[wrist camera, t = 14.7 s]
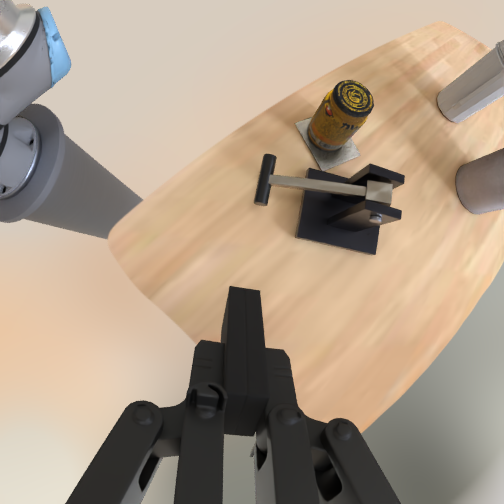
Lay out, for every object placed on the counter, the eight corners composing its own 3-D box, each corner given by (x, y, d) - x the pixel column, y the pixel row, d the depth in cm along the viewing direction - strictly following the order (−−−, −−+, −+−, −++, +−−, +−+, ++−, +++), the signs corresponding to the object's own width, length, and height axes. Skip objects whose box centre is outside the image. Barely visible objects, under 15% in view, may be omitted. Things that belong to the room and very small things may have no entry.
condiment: (333, 110, 44) (361, 69, 32) (360, 155, 44) (397, 124, 32) (294, 123, 43) (314, 81, 31) (321, 172, 43) (352, 141, 31)
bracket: (294, 237, 43) (325, 224, 29) (306, 170, 43) (339, 131, 29) (371, 255, 43) (425, 250, 30) (380, 191, 44) (431, 165, 30)
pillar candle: (475, 159, 46) (527, 136, 31) (493, 205, 46) (548, 192, 31) (447, 172, 45) (504, 147, 30) (467, 222, 45) (527, 210, 30)
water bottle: (443, 86, 47) (517, 25, 22) (467, 116, 47) (548, 66, 22) (423, 103, 46) (507, 35, 21) (450, 136, 46) (542, 82, 21)
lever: (256, 206, 37) (250, 200, 34) (266, 159, 37) (261, 151, 35) (386, 226, 32) (389, 221, 30) (391, 175, 32) (394, 167, 30)
